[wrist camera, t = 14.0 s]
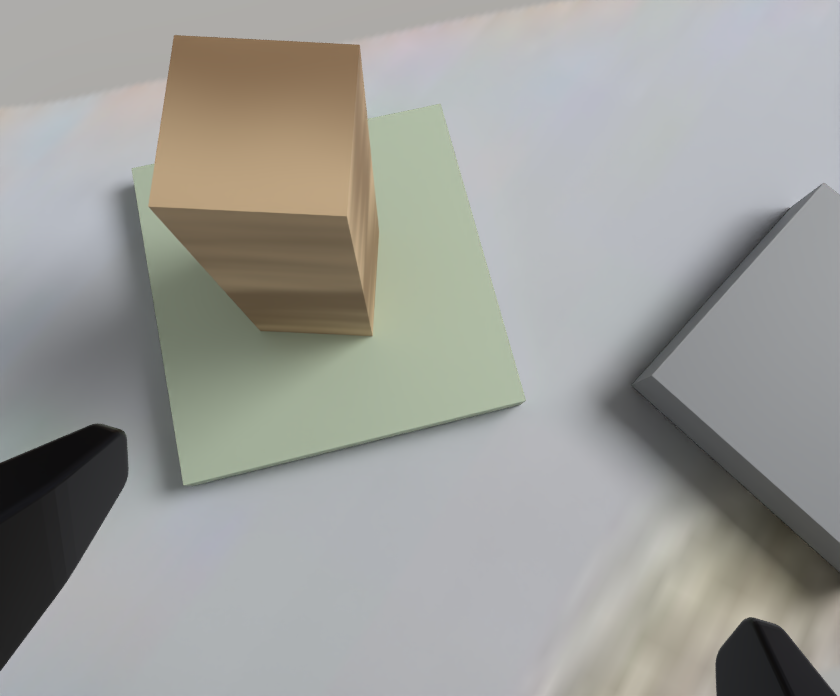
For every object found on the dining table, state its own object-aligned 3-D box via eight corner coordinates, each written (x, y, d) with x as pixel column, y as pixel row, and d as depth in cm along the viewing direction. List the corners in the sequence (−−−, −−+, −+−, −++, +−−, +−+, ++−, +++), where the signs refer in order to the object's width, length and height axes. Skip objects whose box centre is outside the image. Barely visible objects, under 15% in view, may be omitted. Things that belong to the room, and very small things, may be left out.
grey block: (852, 584, 22) (896, 592, 20) (631, 385, 23) (651, 375, 21) (1006, 379, 24) (1059, 369, 22) (791, 206, 25) (824, 182, 23)
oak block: (372, 336, 23) (346, 216, 13) (260, 330, 22) (148, 206, 13) (379, 231, 23) (359, 44, 14) (270, 225, 23) (174, 35, 14)
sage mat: (520, 404, 23) (525, 400, 22) (193, 485, 22) (183, 485, 21) (439, 118, 26) (440, 103, 25) (142, 181, 25) (131, 168, 24)
